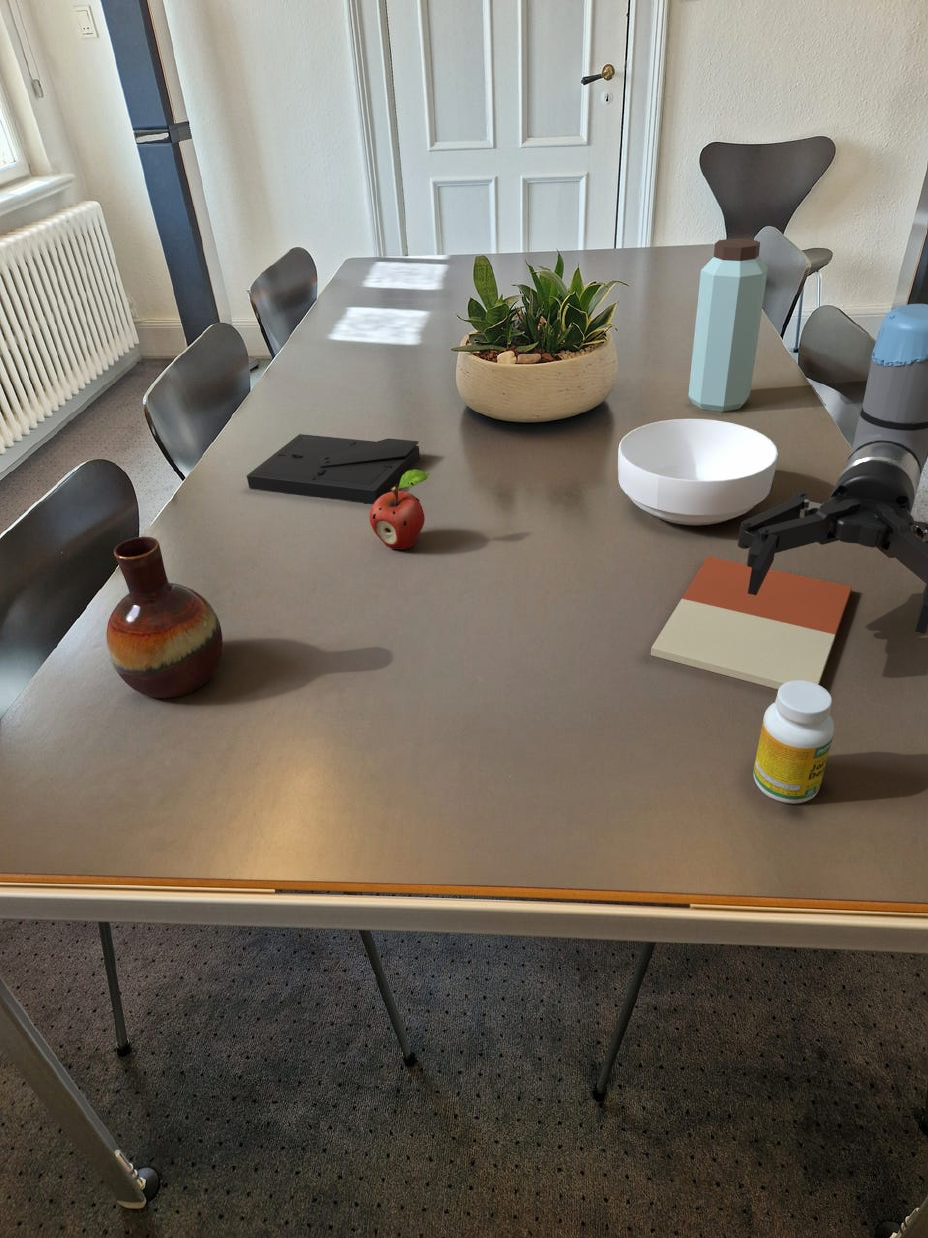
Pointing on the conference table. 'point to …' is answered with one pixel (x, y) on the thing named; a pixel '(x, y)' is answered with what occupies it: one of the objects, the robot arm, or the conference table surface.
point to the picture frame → (336, 467)
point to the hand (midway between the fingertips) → (835, 600)
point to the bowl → (696, 469)
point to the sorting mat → (754, 625)
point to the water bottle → (727, 325)
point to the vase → (160, 627)
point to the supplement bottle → (794, 742)
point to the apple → (399, 513)
